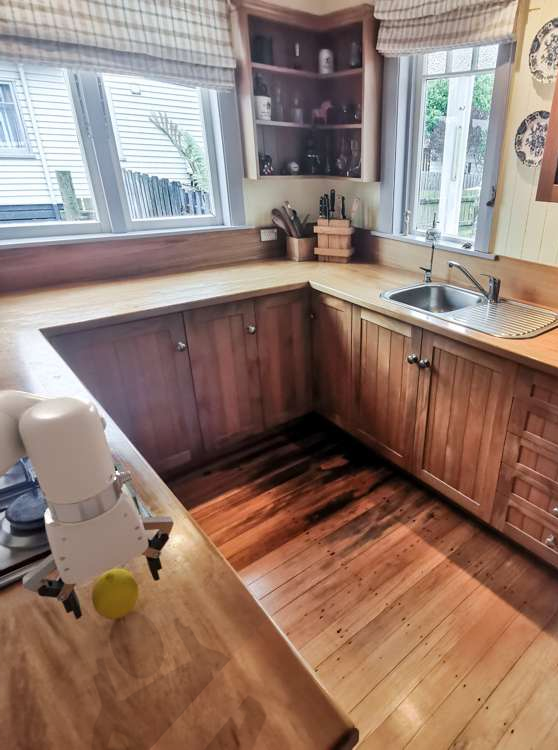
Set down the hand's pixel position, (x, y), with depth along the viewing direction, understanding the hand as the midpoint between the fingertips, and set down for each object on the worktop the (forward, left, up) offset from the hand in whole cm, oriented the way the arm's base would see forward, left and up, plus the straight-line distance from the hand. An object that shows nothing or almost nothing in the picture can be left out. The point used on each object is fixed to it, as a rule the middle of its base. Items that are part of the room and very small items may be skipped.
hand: (117, 591), depth 64 cm
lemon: (0, 0, -5) cm, 5 cm away
